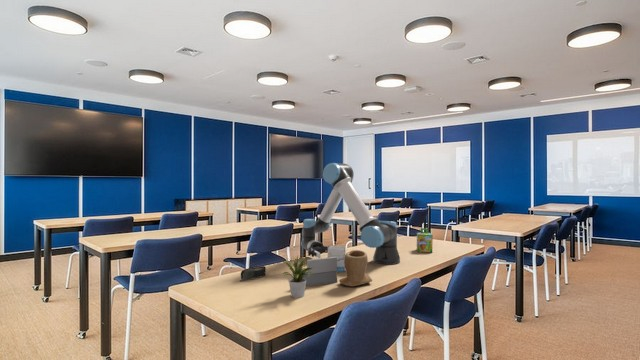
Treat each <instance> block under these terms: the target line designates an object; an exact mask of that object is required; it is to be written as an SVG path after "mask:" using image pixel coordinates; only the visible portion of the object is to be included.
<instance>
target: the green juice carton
mask: <svg viewBox="0 0 640 360" xmlns="http://www.w3.org/2000/svg"><path fill="white" fill-rule="evenodd" d="M433 239H434V238H433V234H432V233H431V232H429V229H428V228H427V227H425V228H424V227H421V228H420V232H416V251H417V253H430V254H431V253H433Z"/></svg>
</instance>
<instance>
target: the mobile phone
mask: <svg viewBox="0 0 640 360" xmlns="http://www.w3.org/2000/svg"><path fill="white" fill-rule="evenodd" d="M266 270H267V269H266V266H265V265H263V266H262V265H261V266H254V267H249V268H245V269H243V270H241V271H240V278H241V279H239V282H244V281H249V280H253V279H257V278H262V277H265V276H266Z"/></svg>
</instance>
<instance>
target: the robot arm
mask: <svg viewBox="0 0 640 360" xmlns="http://www.w3.org/2000/svg"><path fill="white" fill-rule="evenodd" d="M322 172H323V173H322V177H323V180H324V182H326V183H328V184H330V185H331V186H332V188H333V189H332V190H331V193H330V194H329V196H328V198H327V200H326V202H325V204H324V206H323V209H322V211H321V213H320V215H319V217H318V219H317V220H316V219H314V218H305V219H304V220H303V225H302V229H303V230H302V234H303V236H302V237H303V238H302V239H301V243H300V245H301V247H302V249H304V251H307V255H308V257H310V256H311V258H314V257H316V258H317V259H320V258H321V254H328V248H329V247H330V246H331V245H328V246H325V245H324V244H323V243H322V242H321V241H317V240H316V236H317V235H316V234H318V233H324V232H325V233H326V231H327V232H328V231H329V230H330V228H331V223H330V222H331V221H332V218H333V217H334V214H335V212H336V210H337V209H338V206H339V204H341V203H340V202H341V201H342V199H343V202H344V203H345V204H346V206H347V207H348V209H349V210H350V212H351V214H352V216H353V217H354V218H355V220H356V222H357V223H358V225H359V227H358V230H359V232H360V240H361V242H362V243H363V244H364V245H365V246H366V247H368V248H370V249H371V248H372V249H374V248H375V249H374V250H375V251H374V254H373V256H372V261H373V262H374V263H377V264H379V265H380V264H381V265H396V264H397V265H398V263H400V262H401V257H400V253H399V251H398V244H397V243H398V242H397V241H398V237H397V236H398V231H397V230H398V226H397V222H396V221H389V220H379V219H378V218H377V217H374V216H373V215H372V213H371V212H370V210H369V209H368V207H367V206H366V204H365V203H364V201H363V199H362V198H361V196H360V195H359V193H358V192H357V190H356V189H355V187H354V185H353V184H352V183H353V180H354V175H355V174H354V170H353V168H352V166H351V165H350V164H348V163H339V162H337V163H336V162H331V163H328V164H326V165H325V167H324V169H323V171H322Z"/></svg>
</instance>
